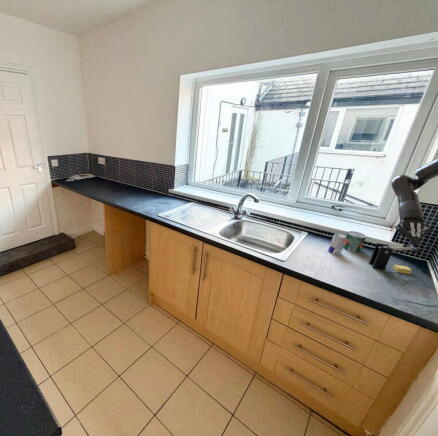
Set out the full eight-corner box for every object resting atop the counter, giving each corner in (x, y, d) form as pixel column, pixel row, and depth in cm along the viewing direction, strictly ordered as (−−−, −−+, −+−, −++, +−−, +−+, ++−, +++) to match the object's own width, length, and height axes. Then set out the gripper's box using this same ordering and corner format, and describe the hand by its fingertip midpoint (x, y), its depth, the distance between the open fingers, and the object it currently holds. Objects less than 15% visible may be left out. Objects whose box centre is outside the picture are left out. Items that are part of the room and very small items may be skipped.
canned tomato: (338, 247, 139) (344, 230, 135) (354, 249, 138) (360, 231, 134) (345, 254, 132) (352, 236, 128) (362, 256, 131) (369, 238, 126)
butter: (405, 271, 116) (407, 266, 115) (409, 275, 113) (412, 270, 112) (392, 269, 118) (394, 264, 117) (396, 272, 114) (398, 268, 113)
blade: (413, 248, 113) (413, 243, 112) (420, 253, 108) (421, 248, 107) (376, 249, 118) (376, 244, 117) (382, 254, 113) (382, 249, 113)
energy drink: (328, 251, 135) (335, 232, 130) (340, 255, 131) (347, 235, 127) (326, 255, 131) (333, 235, 127) (338, 258, 128) (345, 238, 123)
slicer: (384, 267, 120) (393, 244, 116) (392, 275, 113) (403, 251, 109) (359, 263, 124) (367, 240, 119) (366, 271, 117) (375, 247, 112)
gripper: (397, 206, 115) (402, 240, 109) (434, 210, 111) (442, 245, 104) (387, 213, 122) (392, 245, 115) (422, 217, 117) (428, 250, 111)
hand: (415, 245), depth 110 cm, fingers closed
